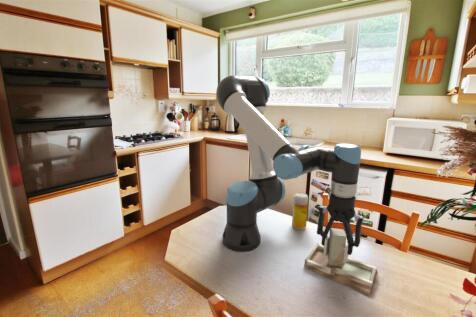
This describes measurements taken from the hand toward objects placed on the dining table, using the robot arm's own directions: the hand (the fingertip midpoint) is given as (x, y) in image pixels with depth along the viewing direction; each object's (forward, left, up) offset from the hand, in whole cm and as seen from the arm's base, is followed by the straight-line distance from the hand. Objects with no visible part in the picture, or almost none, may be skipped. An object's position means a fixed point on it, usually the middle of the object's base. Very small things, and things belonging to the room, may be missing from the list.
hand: (335, 257), depth 83 cm
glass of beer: (-20, +18, -4) cm, 27 cm away
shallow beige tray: (+2, 0, -4) cm, 4 cm away
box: (0, 0, -2) cm, 2 cm away
